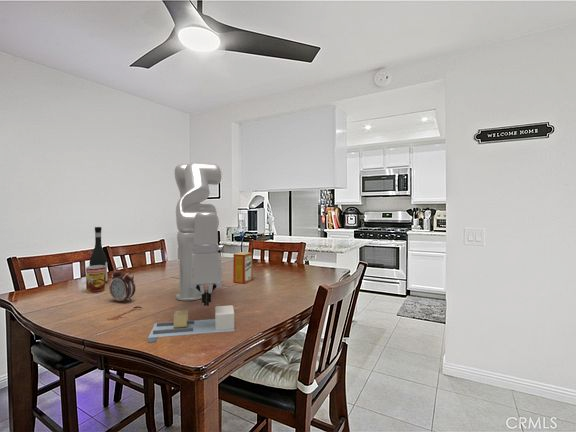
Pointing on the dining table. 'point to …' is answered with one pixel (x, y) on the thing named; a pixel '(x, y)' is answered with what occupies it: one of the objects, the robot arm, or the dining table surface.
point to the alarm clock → (122, 285)
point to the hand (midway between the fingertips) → (206, 304)
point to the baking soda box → (242, 267)
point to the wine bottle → (98, 252)
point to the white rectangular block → (224, 317)
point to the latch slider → (181, 319)
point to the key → (124, 313)
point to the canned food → (95, 279)
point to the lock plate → (183, 329)
